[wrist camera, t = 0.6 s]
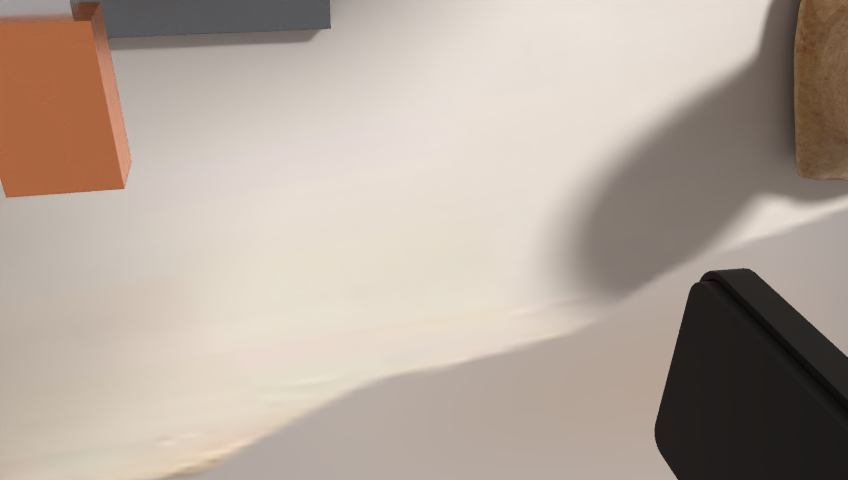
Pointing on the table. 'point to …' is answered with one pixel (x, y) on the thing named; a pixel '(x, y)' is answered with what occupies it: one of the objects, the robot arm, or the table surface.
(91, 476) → the table surface
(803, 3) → the stone cup
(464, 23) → the table surface
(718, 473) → the robot arm
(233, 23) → the valve body
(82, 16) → the valve lever
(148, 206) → the table surface
